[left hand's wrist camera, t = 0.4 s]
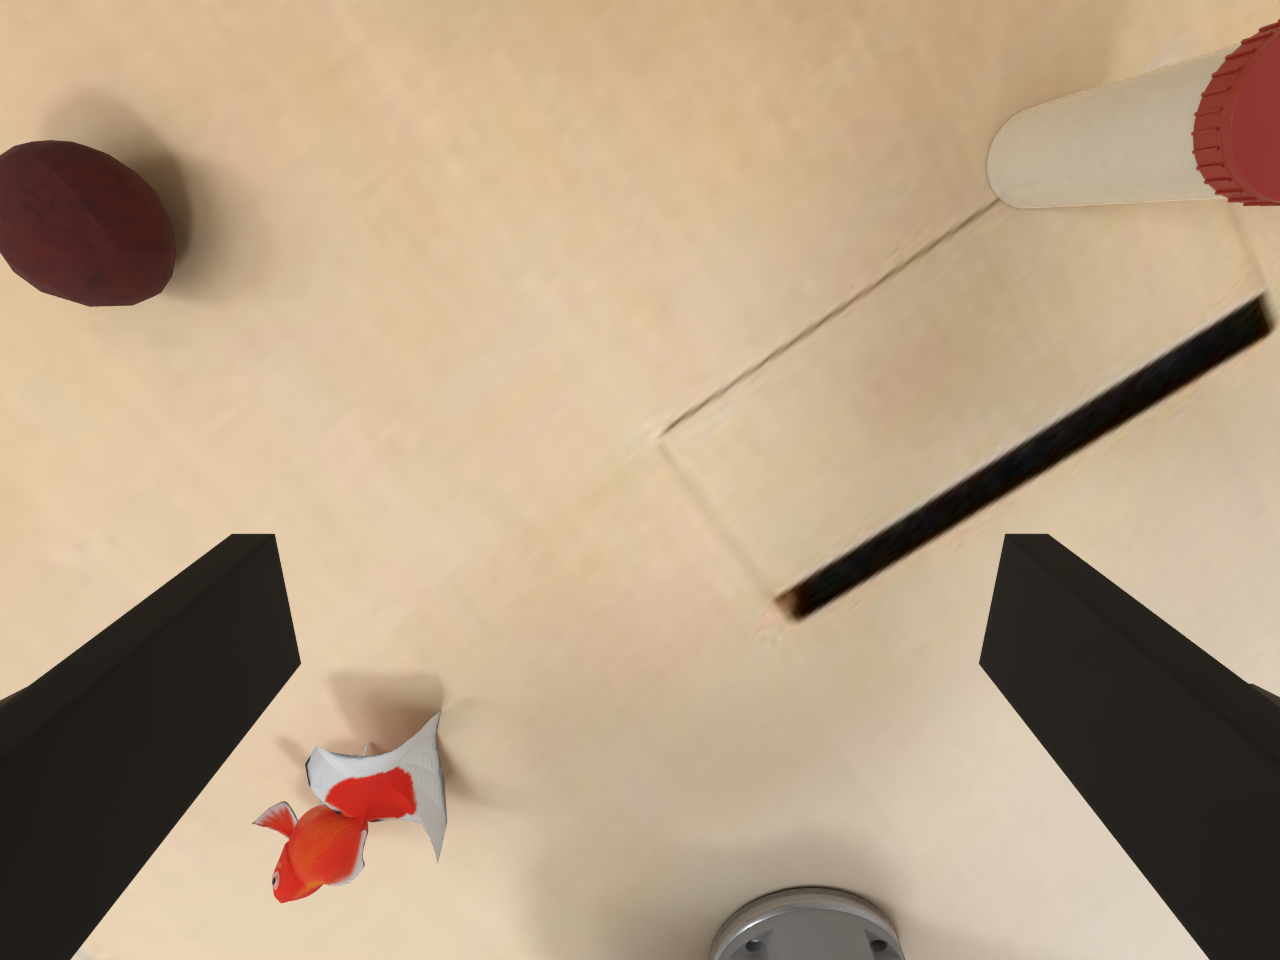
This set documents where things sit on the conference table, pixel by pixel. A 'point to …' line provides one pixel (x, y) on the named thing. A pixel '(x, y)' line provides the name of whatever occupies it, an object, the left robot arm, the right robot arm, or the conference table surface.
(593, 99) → the conference table surface
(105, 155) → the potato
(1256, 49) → the lid
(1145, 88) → the bottle
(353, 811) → the fish
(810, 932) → the left robot arm
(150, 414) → the conference table surface
